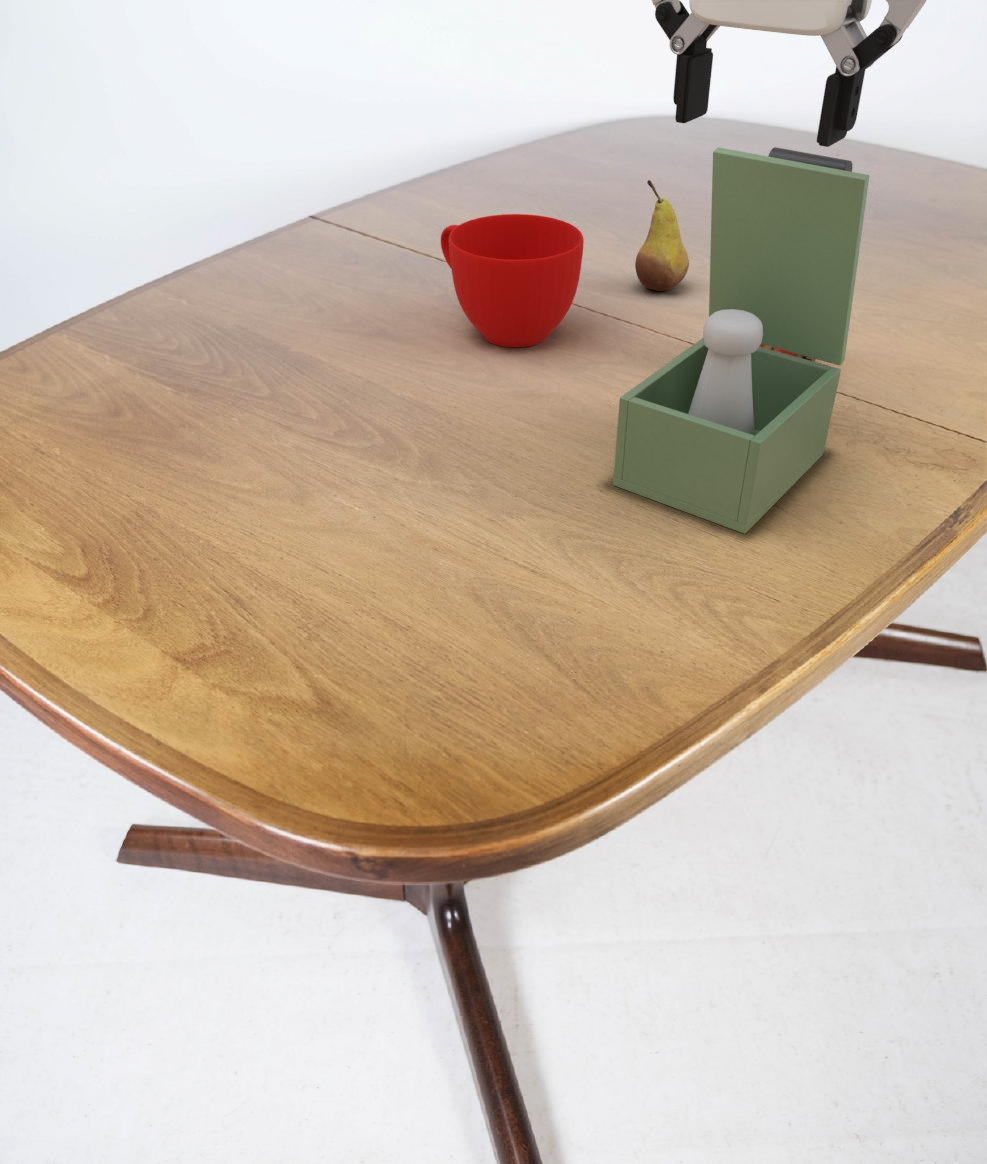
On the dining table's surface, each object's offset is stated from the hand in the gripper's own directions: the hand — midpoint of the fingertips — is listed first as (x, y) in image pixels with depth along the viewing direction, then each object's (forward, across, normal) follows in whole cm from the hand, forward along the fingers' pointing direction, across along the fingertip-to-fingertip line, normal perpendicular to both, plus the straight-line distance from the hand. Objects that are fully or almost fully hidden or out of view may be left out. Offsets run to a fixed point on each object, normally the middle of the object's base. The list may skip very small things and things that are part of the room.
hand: (758, 129), depth 68 cm
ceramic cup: (+27, +32, -16) cm, 45 cm away
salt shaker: (+27, +1, -3) cm, 27 cm away
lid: (+12, +1, -10) cm, 15 cm away
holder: (+27, +1, -4) cm, 28 cm away
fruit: (+27, +24, -35) cm, 51 cm away
